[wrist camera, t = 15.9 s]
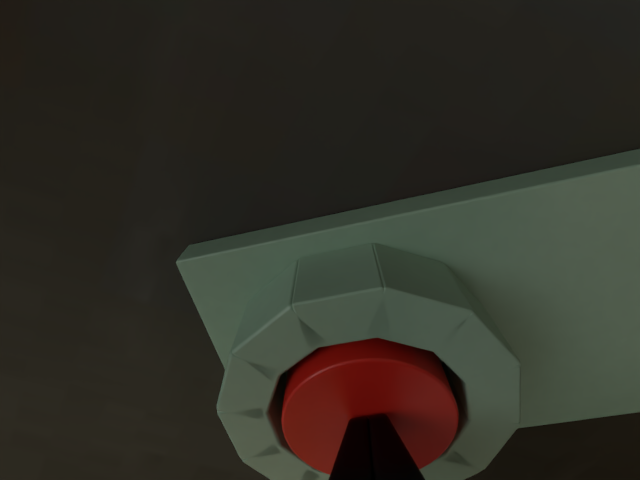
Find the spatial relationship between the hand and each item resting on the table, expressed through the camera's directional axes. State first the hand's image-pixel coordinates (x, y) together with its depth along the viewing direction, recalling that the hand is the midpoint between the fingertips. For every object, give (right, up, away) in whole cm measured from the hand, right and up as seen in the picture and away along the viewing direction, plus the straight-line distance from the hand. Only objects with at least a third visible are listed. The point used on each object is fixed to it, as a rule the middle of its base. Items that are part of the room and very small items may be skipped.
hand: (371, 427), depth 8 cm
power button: (0, +1, +2) cm, 2 cm away
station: (+2, +2, +3) cm, 4 cm away
